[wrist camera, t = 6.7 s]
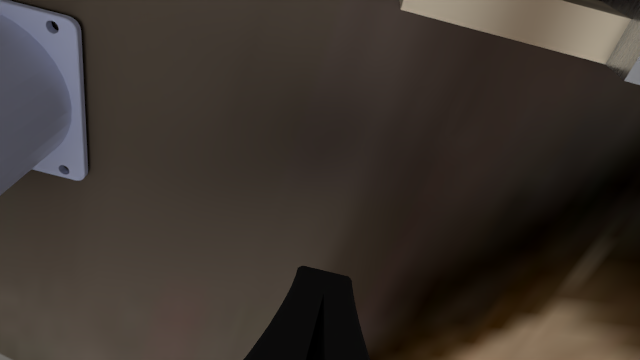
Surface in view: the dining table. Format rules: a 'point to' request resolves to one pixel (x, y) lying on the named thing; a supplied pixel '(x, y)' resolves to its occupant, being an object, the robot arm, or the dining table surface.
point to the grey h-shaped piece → (627, 42)
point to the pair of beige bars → (536, 22)
